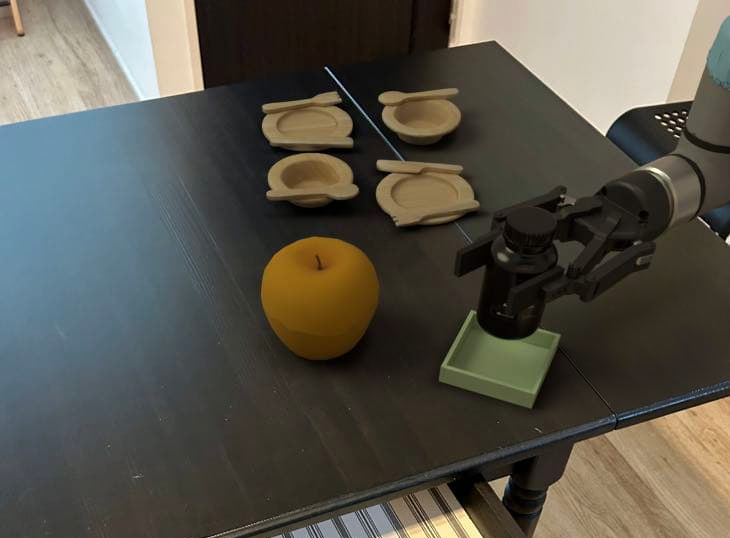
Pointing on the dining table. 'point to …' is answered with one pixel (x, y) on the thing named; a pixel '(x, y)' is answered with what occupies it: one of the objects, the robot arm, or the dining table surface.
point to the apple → (320, 296)
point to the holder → (499, 363)
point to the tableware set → (396, 191)
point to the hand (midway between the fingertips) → (483, 283)
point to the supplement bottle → (516, 271)
